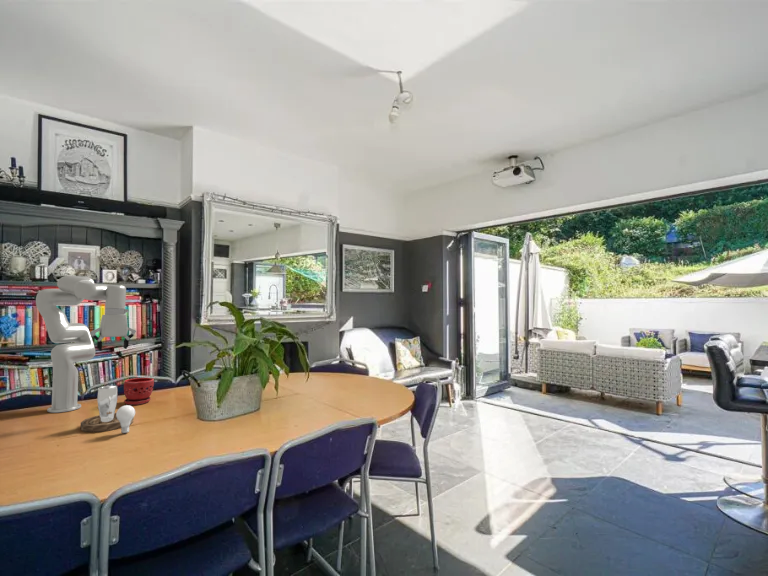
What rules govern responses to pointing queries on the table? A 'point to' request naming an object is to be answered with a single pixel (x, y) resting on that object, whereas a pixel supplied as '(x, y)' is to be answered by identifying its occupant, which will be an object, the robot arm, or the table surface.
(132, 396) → the plant pot
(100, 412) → the beer glass
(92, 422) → the tray
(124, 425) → the lightbulb
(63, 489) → the table surface
